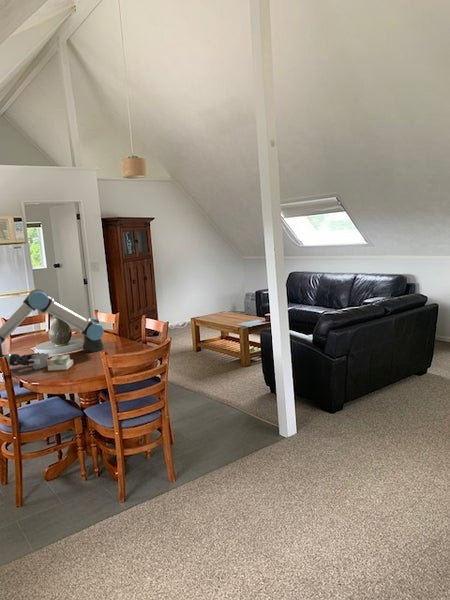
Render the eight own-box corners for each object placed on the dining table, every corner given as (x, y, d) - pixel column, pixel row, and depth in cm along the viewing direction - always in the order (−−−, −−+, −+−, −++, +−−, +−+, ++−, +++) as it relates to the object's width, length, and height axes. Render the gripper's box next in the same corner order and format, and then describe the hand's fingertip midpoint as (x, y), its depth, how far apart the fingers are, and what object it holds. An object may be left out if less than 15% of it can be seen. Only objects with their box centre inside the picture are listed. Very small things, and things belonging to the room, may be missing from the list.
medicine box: (44, 365, 297) (42, 352, 295) (47, 366, 294) (46, 353, 293) (32, 368, 291) (31, 355, 289) (36, 369, 288) (34, 356, 287)
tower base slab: (73, 364, 297) (73, 359, 296) (67, 370, 285) (66, 364, 284) (55, 365, 297) (54, 360, 297) (48, 371, 285) (47, 365, 285)
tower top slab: (70, 359, 296) (69, 354, 295) (66, 364, 286) (65, 358, 285) (54, 361, 295) (53, 356, 294) (49, 365, 285) (49, 360, 284)
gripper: (21, 360, 305) (52, 358, 304) (2, 371, 280) (36, 369, 280) (20, 349, 304) (51, 347, 303) (1, 359, 279) (34, 358, 278)
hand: (44, 358), depth 291 cm, fingers open, 13 cm apart
